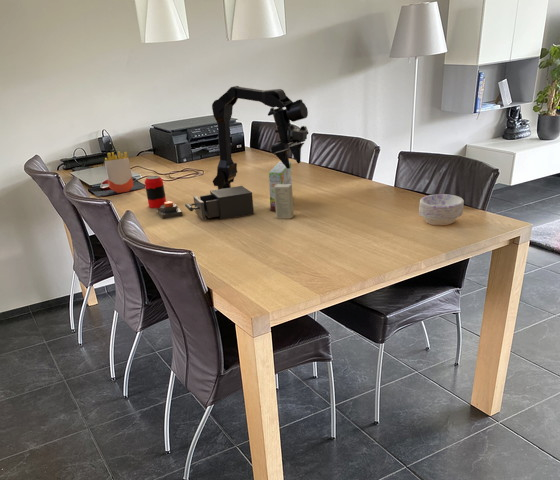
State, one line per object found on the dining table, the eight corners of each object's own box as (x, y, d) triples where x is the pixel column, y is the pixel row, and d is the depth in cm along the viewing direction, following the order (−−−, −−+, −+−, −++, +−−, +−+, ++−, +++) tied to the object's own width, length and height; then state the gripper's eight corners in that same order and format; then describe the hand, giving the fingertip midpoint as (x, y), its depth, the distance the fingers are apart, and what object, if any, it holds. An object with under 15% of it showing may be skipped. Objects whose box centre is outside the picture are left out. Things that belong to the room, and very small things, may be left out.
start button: (163, 206, 234) (162, 202, 233) (172, 204, 235) (171, 200, 234) (165, 208, 231) (164, 204, 230) (174, 207, 232) (173, 202, 231)
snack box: (283, 211, 229) (281, 172, 221) (269, 211, 230) (267, 172, 222) (293, 196, 247) (291, 160, 239) (280, 196, 248) (278, 160, 240)
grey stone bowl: (437, 231, 198) (439, 208, 194) (409, 220, 210) (411, 198, 205) (471, 222, 203) (473, 200, 199) (442, 212, 215) (444, 191, 211)
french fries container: (110, 192, 273) (101, 152, 263) (132, 188, 276) (125, 149, 267) (111, 194, 269) (103, 154, 260) (134, 190, 273) (127, 150, 263)
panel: (158, 212, 238) (156, 204, 236) (176, 209, 240) (175, 201, 238) (163, 219, 230) (161, 210, 228) (182, 215, 232) (181, 207, 230)
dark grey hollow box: (221, 219, 224) (218, 197, 219) (212, 212, 234) (209, 190, 230) (253, 214, 228) (252, 192, 223) (243, 206, 238) (242, 185, 233)
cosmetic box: (294, 215, 223) (292, 183, 217) (290, 219, 220) (289, 186, 213) (279, 215, 225) (277, 183, 219) (275, 218, 222) (273, 186, 215)
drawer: (192, 222, 221) (189, 204, 217) (185, 214, 230) (182, 197, 226) (233, 215, 226) (231, 197, 222) (225, 208, 235) (223, 191, 231)
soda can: (170, 204, 248) (165, 175, 242) (160, 209, 242) (155, 180, 236) (155, 203, 251) (151, 174, 245) (145, 207, 245) (140, 179, 239)
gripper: (289, 123, 210) (300, 166, 217) (311, 115, 224) (321, 156, 230) (264, 131, 216) (276, 172, 223) (287, 122, 230) (297, 162, 236)
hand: (293, 165), depth 228 cm, fingers open, 9 cm apart
